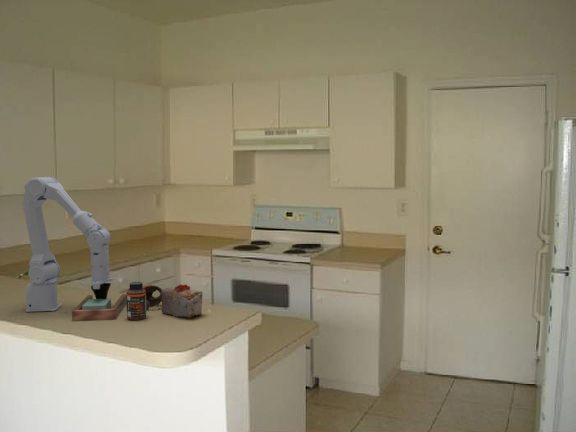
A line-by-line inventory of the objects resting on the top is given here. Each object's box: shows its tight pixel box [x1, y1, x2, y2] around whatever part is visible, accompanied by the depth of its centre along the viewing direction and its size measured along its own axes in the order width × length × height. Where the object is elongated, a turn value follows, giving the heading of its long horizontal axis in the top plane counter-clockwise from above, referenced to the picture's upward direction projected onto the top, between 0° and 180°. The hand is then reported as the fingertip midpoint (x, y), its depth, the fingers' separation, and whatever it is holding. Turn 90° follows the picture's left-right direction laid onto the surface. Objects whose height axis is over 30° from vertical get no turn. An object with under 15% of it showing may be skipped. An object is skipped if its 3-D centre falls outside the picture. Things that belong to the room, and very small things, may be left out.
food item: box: [161, 283, 203, 319], centre depth 185 cm, size 14×8×10 cm, turn 57°
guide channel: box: [71, 293, 127, 322], centre depth 190 cm, size 13×22×3 cm, turn 6°
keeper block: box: [82, 298, 112, 310], centre depth 185 cm, size 7×9×4 cm
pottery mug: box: [143, 284, 163, 311], centre depth 195 cm, size 12×10×8 cm
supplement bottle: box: [125, 281, 147, 321], centre depth 181 cm, size 6×6×11 cm
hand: (101, 306), depth 191 cm, fingers closed
